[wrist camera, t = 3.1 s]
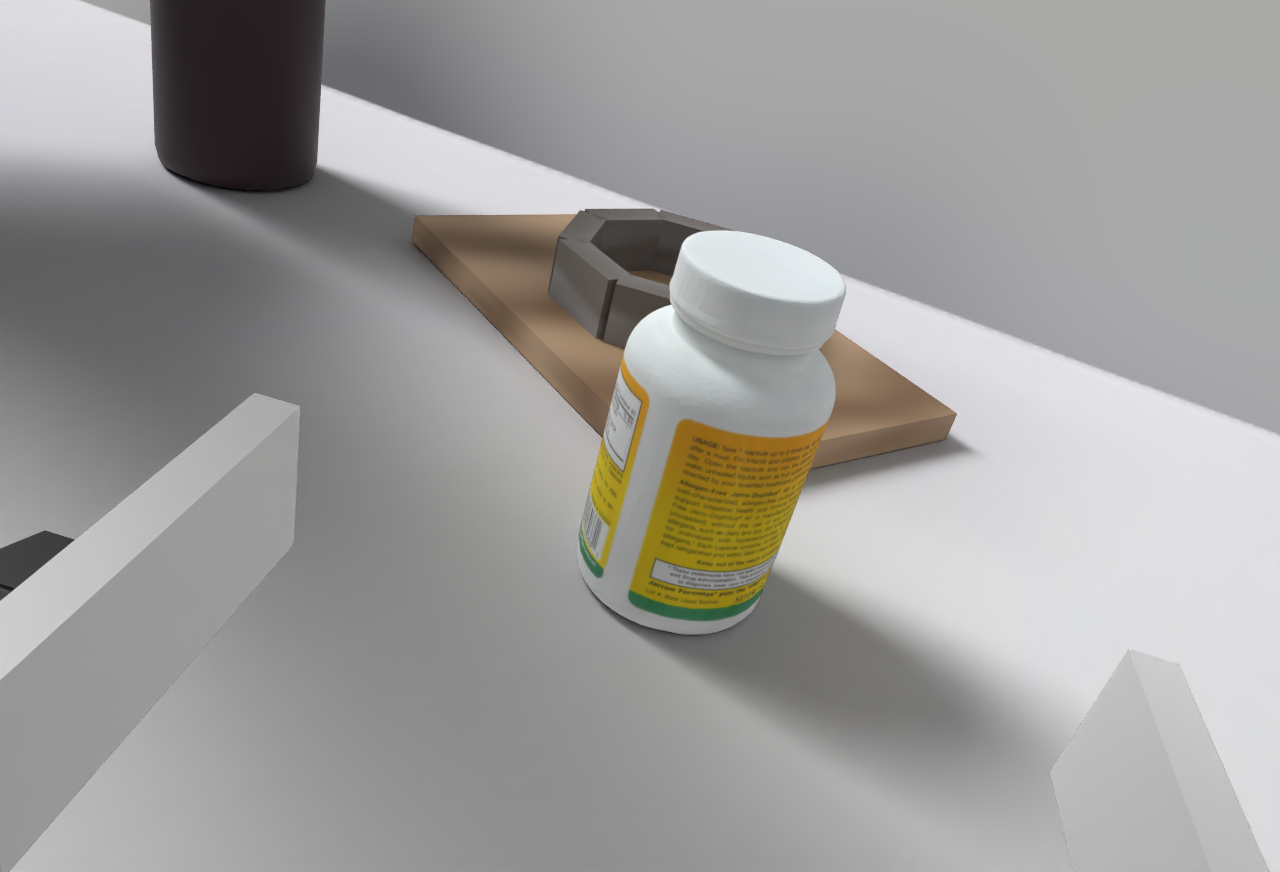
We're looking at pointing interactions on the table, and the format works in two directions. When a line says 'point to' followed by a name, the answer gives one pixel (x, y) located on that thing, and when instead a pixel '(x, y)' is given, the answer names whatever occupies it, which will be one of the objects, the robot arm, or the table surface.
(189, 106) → the wine bottle
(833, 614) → the table surface
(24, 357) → the table surface
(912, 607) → the table surface
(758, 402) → the supplement bottle
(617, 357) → the board
